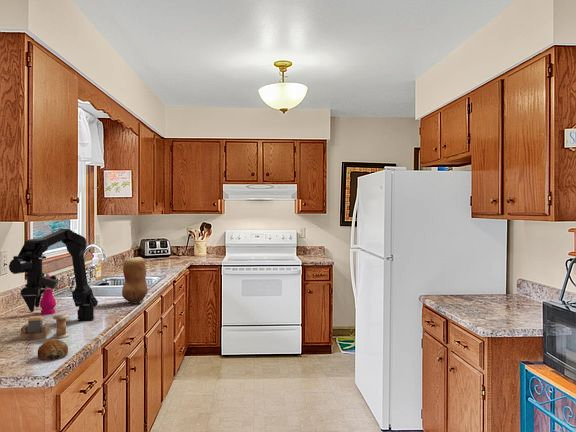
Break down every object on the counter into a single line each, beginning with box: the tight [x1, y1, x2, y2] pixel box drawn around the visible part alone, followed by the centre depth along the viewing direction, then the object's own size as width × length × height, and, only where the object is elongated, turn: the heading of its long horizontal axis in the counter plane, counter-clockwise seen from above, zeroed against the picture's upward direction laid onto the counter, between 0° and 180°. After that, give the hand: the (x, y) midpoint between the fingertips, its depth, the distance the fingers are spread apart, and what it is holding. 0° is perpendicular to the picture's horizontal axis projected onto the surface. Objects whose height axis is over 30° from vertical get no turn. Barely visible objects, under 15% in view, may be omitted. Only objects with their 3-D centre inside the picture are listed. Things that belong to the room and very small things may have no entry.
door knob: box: [52, 313, 70, 339], centre depth 207 cm, size 6×6×8 cm
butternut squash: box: [121, 256, 149, 304], centre depth 277 cm, size 14×13×25 cm
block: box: [27, 315, 43, 333], centre depth 207 cm, size 4×4×6 cm
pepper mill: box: [39, 272, 57, 316], centre depth 251 cm, size 7×7×20 cm
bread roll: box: [37, 338, 69, 361], centre depth 181 cm, size 10×10×8 cm
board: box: [20, 322, 52, 341], centre depth 209 cm, size 9×11×4 cm
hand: (34, 309), depth 207 cm, fingers open, 9 cm apart
